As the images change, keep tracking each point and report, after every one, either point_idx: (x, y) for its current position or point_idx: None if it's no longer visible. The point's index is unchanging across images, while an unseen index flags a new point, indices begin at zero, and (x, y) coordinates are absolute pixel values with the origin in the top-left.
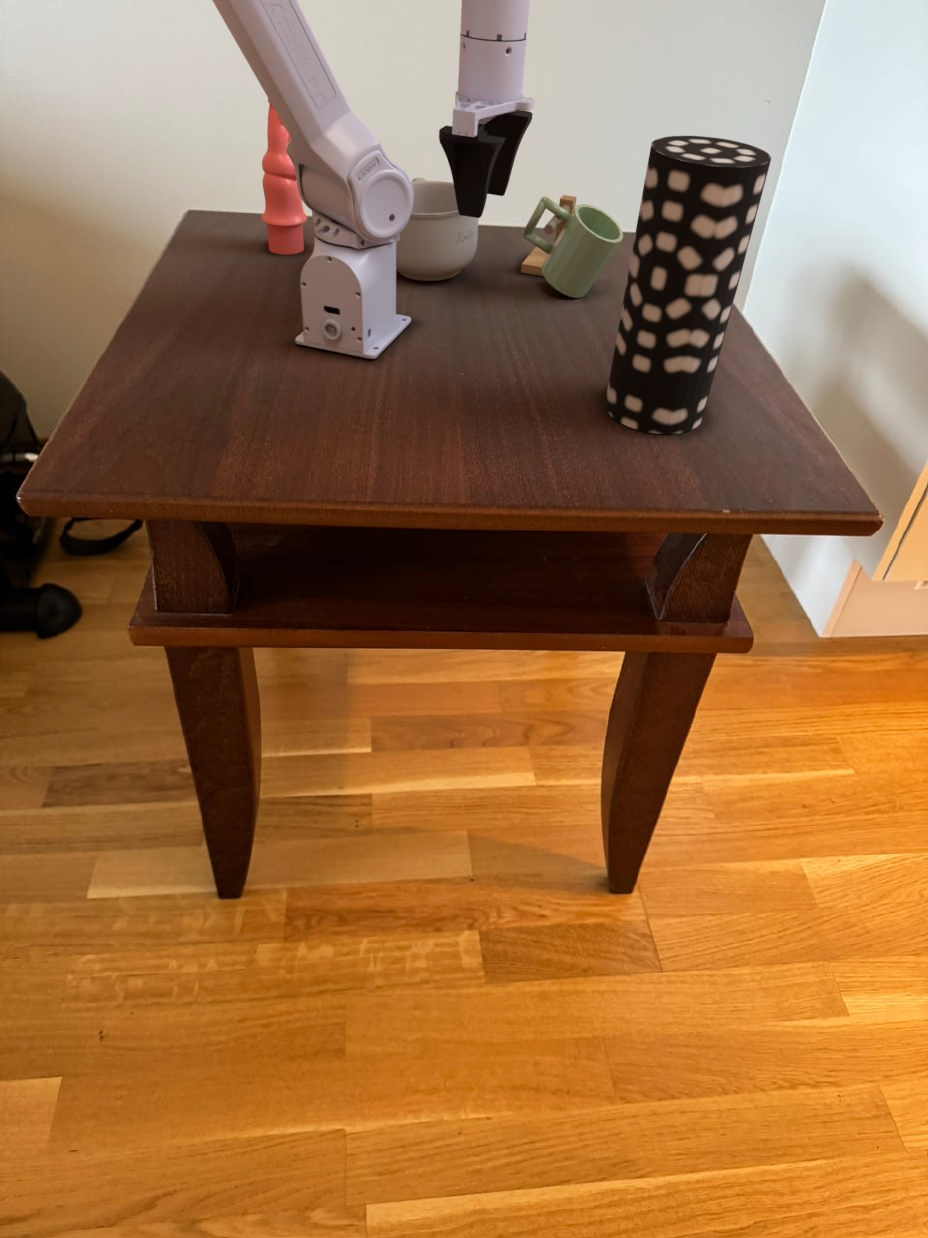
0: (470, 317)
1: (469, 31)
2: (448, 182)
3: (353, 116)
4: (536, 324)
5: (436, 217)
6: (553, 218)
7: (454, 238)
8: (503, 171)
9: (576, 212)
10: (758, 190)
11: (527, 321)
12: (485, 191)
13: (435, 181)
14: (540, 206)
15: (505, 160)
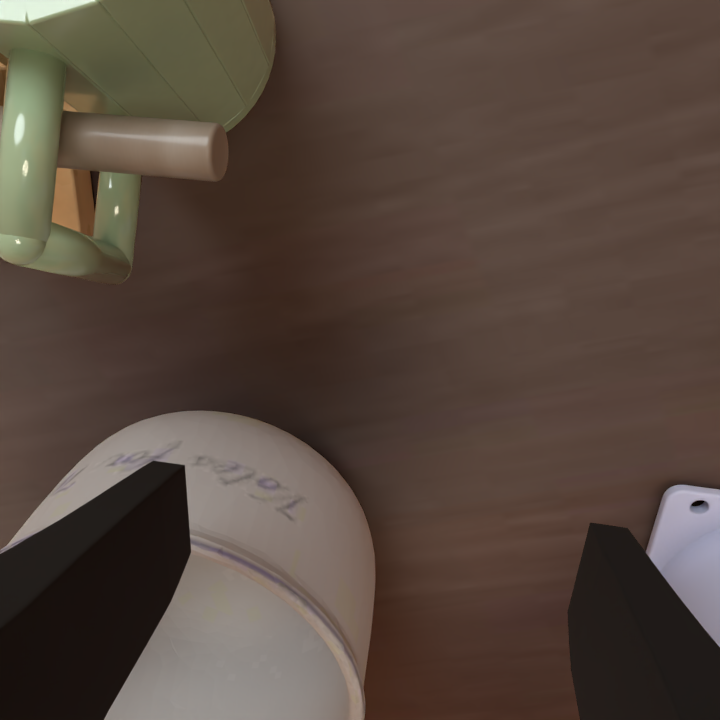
0: (566, 323)
1: None
2: None
3: None
4: (563, 77)
5: (341, 634)
6: (97, 152)
7: (308, 517)
8: (126, 554)
9: (63, 3)
10: None
11: (543, 119)
12: (695, 621)
13: None
14: (57, 250)
15: (86, 596)
